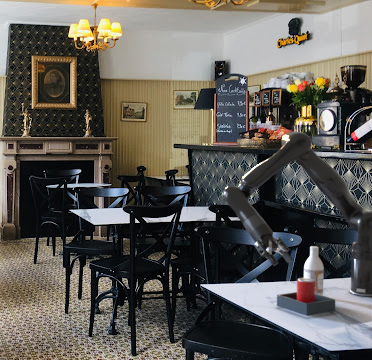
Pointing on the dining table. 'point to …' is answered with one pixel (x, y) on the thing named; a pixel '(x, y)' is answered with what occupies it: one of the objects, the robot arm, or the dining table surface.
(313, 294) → the can
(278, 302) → the tub
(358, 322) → the dining table surface
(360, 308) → the dining table surface
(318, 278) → the bath foam
